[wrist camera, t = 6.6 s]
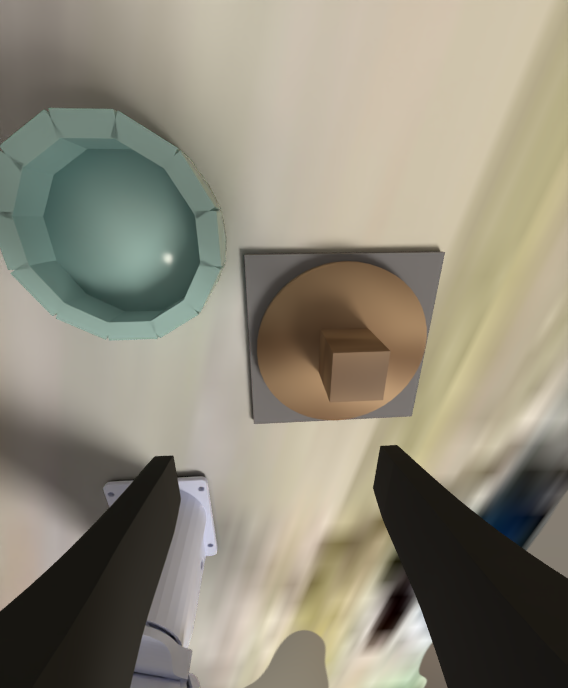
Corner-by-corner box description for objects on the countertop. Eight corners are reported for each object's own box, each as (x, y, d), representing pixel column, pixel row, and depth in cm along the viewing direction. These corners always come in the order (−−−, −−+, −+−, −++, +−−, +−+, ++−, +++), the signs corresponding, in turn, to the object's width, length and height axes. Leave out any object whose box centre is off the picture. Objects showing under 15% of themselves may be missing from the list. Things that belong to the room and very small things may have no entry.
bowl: (232, 319, 19) (227, 336, 16) (69, 323, 18) (35, 342, 15) (217, 130, 15) (207, 110, 12) (9, 128, 14) (-53, 106, 11)
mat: (409, 413, 23) (411, 416, 22) (254, 420, 22) (254, 424, 21) (441, 251, 18) (444, 252, 17) (244, 254, 17) (244, 255, 17)
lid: (406, 410, 22) (437, 451, 18) (260, 416, 21) (259, 461, 17) (435, 259, 18) (485, 271, 14) (253, 262, 17) (250, 274, 13)
